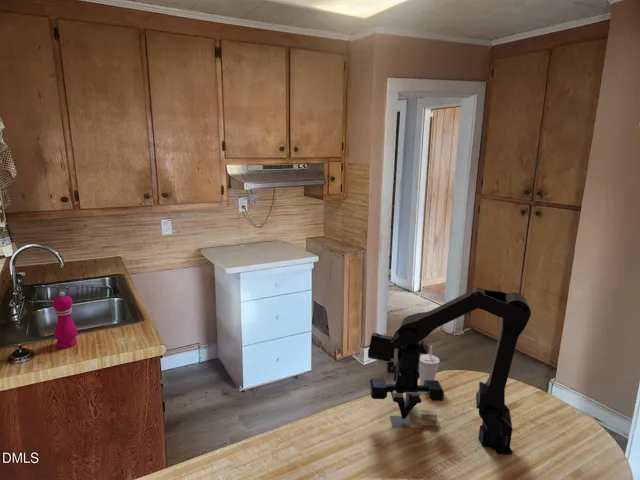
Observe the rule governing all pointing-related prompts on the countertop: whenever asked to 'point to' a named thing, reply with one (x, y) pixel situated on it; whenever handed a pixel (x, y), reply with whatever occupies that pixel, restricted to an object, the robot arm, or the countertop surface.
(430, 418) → the t block
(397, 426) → the mat
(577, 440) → the countertop surface
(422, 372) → the smoothie
